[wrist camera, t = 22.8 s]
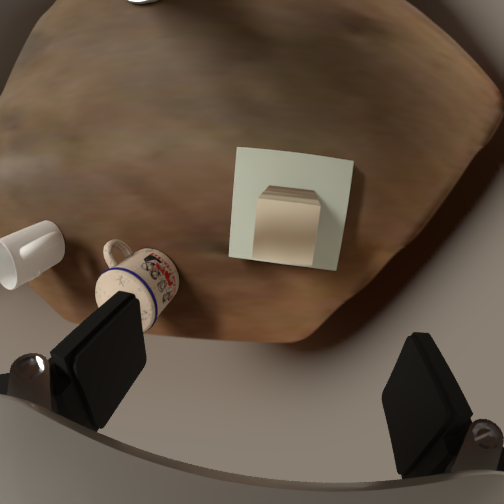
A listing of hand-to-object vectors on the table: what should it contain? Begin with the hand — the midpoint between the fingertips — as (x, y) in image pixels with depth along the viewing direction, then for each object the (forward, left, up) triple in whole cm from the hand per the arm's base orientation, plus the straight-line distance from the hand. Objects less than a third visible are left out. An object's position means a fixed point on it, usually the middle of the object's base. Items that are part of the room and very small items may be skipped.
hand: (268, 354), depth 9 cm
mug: (+9, -38, -28) cm, 48 cm away
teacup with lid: (+11, -19, -28) cm, 36 cm away
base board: (0, 0, -28) cm, 28 cm away
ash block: (0, 0, -20) cm, 20 cm away
